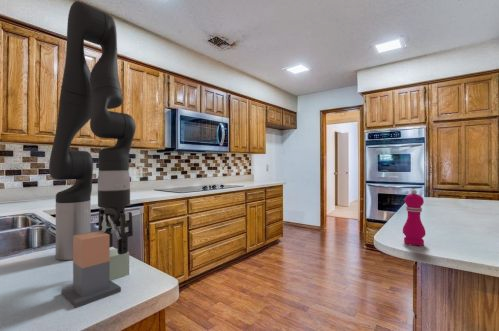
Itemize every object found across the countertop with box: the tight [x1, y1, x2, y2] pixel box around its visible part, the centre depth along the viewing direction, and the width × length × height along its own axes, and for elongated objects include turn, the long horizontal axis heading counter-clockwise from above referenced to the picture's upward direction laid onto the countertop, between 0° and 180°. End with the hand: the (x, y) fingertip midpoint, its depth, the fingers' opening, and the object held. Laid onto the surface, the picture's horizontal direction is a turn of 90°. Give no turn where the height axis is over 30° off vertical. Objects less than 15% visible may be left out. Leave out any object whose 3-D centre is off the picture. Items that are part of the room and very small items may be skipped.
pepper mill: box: [402, 189, 426, 246], centre depth 98 cm, size 7×7×20 cm
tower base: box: [60, 261, 122, 309], centre depth 60 cm, size 9×9×7 cm
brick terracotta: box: [72, 230, 111, 268], centre depth 60 cm, size 6×6×6 cm
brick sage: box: [110, 247, 130, 281], centre depth 69 cm, size 6×6×6 cm
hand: (114, 250), depth 69 cm, fingers open, 8 cm apart
